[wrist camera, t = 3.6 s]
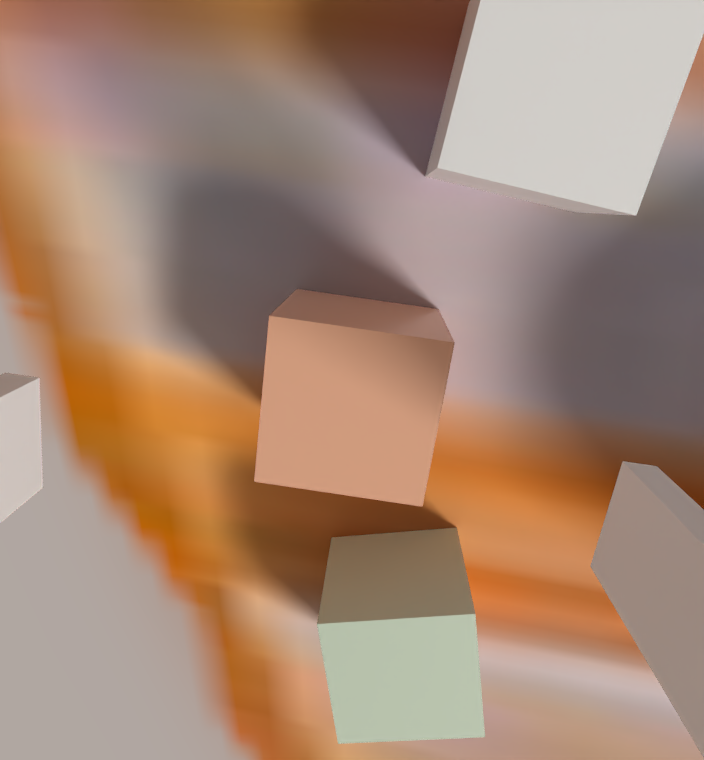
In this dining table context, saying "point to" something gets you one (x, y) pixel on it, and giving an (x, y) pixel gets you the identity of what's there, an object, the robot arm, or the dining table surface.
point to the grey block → (565, 99)
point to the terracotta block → (352, 396)
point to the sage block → (400, 638)
